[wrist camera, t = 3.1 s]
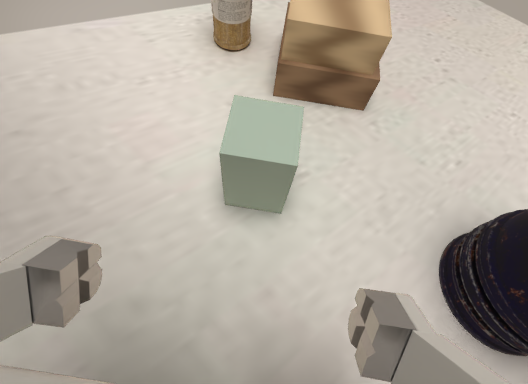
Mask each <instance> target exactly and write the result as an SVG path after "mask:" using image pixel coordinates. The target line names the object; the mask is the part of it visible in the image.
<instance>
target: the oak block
mask: <svg viewBox="0 0 528 384" xmlns="http://www.w3.org/2000/svg"><path fill="white" fill-rule="evenodd" d="M391 38H392V33H391V19H390V6H389V0H291V1H290V7H289V12H288V17H287V23H286V30H285V36H284V43H283V49H282V56H281V59H282V60H288V61H294V62H299V63H305V64H311V65H316V66H322V67H328V68H333V69H339V70H345V71H350V72H356V73H362V74H368V75H373V73H374V71H375V69H376V67H377V65H378V63H379V61H380V59H381V57H382V55H383V53H384V52H385V50H386V48H387V46H388V44H389V42H390V40H391Z"/></svg>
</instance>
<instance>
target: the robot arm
mask: <svg viewBox="0 0 528 384" xmlns="http://www.w3.org/2000/svg"><path fill="white" fill-rule="evenodd" d="M101 257H102V254H101V247H100V246H99V245H98V244H94V243H89V242H84V241H78V240H73V239H68V238H63V237H56V236H45V237H43V238H41V239H40V240H38V241H36V242H34V243H33V244H31V245H29V246H28V247H26V248H24V249H22V250H21V251H19V252H17V253H16V254H14V255H12V256H10V257H9V258H7V259H5V260H4V261H2V262H0V342H1V341H2V340H4V339H6V338H8V337H10V336H12V335H14V334H16V333H18V332H20V331H22V330H24V329H25V328H27V327H29V326H31V325H32V323H34V324H42V325H49V326H56V327H65V326H66V325H67V324H68V323H69V322H70V321H71V319H72V318H73V317H74V316H75V315H76V314H77V313H78V312H79V311H80V304H81V303H84V302H86V301H88V300H90V299H91V298H92V297H93V296H94V295H95V294H96V292H97V290H98V288H99V286H100V284H101V279H102V269H101V267H100V266H99V265H98V263H97V262H98V261H99V259H100V258H101ZM355 301H356V304H357V306H356V307H355V308H354V309H352V310H351V313H350V316H349V321H348V333H349V338H350V342H351V344H352V345H353V346H354V347H355V348H356V349H357V350H356V353H355V359H356V362H357V365H358V368H359V372H360V375H361V376H362V377H367V378H373V379H378V380H383V381H388V382H391V384H511V383H509V382H508V381H506V380H505V379H504V378H502V377H501V376H499V375H498V374H497V373H495V372H494V371H492V370H491V369H490V368H488V367H487V366H485V365H484V364H482V363H481V362H480V361H478V360H477V359H475V358H474V357H473V356H471V355H470V354H468V353H467V352H466V351H464V350H463V349H461V348H460V347H459V346H457V345H456V344H454V343H453V342H451V341H450V340H449V339H447V338H446V337H444V336H443V335H439V334H437V333H436V332H435V331H434V329H433V328H432V326H431V325H430V323H429V322H428V320H427V319H426V317H425V316H424V314H423V313H422V311H421V310H420V308H419V307H418V306H417V304H416V303H415V301H414V300H413V298H412V297H411V296H409V295H408V294H400V293H391V292H384V291H377V290H370V289H363V288H359V290H358V291H357V293H356V296H355ZM0 384H114V383H108V382H102V381H96V380H89V379H83V378H77V377H71V376H65V375H59V374H53V373H47V372H40V371H34V370H28V369H22V368H16V367H10V366H4V365H0Z"/></svg>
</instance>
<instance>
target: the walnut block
mask: <svg viewBox="0 0 528 384" xmlns="http://www.w3.org/2000/svg"><path fill="white" fill-rule="evenodd" d="M289 7H290V2H288V7H287V13H286V19H285V25H284V30H283V36H282V42H281V48H280V53H279V59H278V65H277V72H276V79H275V86H274V93H273V96H279V97H285V98H291V99H297V100H303V101H309V102H315V103H321V104H327V105H333V106H339V107H345V108H351V109H357V110H364V108H365V106H366V105H367V103H368V101H369V99H370V97H371V96H372V94H373V92H374V90H375V88H376V87H377V85H378V83H379V81H380V69H379V63H378V65H377V67H376V69H375V71H374V73H373V75H368V74H362V73H356V72H350V71H345V70H339V69H333V68H328V67H322V66H316V65H311V64H305V63H299V62H294V61H288V60H282V59H281V56H282V49H283V43H284V36H285V30H286V23H287V17H288V12H289Z"/></svg>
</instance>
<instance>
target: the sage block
mask: <svg viewBox="0 0 528 384" xmlns="http://www.w3.org/2000/svg"><path fill="white" fill-rule="evenodd" d="M303 112H304V107H303V106H297V105H291V104H285V103H279V102H273V101H267V100H261V99H255V98H249V97H243V96H237V95H234V99H233V103H232V107H231V110H230V114H229V118H228V122H227V126H226V130H225V134H224V137H223V141H222V145H221V149H220V153H219V154H220V163H221V172H222V182H223V191H224V200H225V204H226V205H232V206H238V207H244V208H250V209H256V210H262V211H268V212H274V213H280V214H281V212H282V210H283V207H284V204H285V201H286V198H287V195H288V192H289V190H290V187H291V184H292V181H293V178H294V175H295V172H296V169H297V167H298V159H299V149H300V140H301V131H302V121H303Z"/></svg>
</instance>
